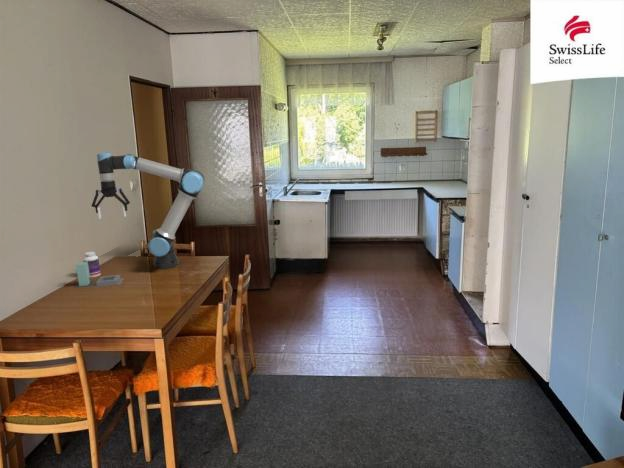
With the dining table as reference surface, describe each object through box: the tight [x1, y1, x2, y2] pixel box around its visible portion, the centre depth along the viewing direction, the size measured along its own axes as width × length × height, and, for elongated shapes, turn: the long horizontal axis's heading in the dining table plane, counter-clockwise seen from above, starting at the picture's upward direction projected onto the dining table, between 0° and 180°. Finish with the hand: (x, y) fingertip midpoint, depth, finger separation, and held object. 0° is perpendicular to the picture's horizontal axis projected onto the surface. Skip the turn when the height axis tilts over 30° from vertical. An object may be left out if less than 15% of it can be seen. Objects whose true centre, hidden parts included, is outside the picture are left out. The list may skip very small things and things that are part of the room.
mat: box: [73, 280, 96, 289], centre depth 261 cm, size 9×9×1 cm
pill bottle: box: [82, 251, 102, 278], centre depth 276 cm, size 8×8×14 cm
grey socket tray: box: [93, 274, 124, 288], centre depth 262 cm, size 14×11×3 cm
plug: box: [75, 261, 91, 286], centre depth 259 cm, size 4×4×12 cm
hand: (112, 217), depth 269 cm, fingers open, 13 cm apart
